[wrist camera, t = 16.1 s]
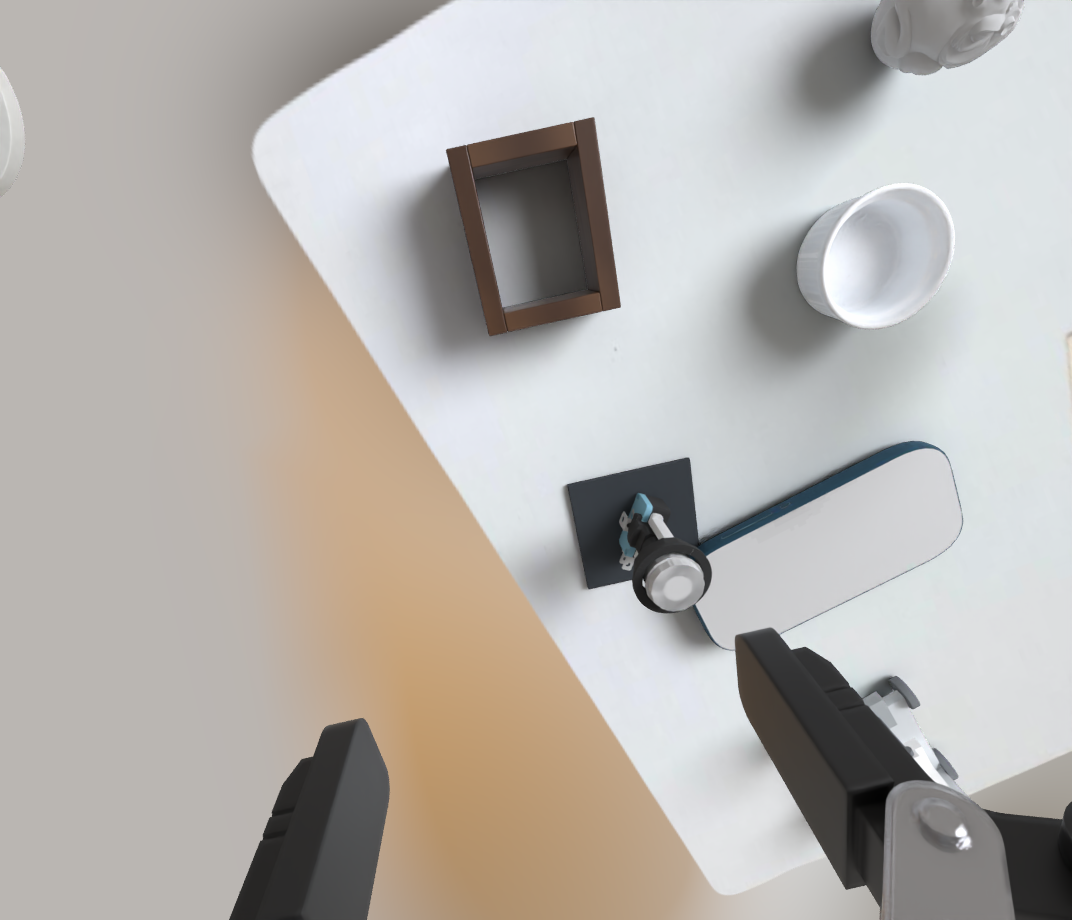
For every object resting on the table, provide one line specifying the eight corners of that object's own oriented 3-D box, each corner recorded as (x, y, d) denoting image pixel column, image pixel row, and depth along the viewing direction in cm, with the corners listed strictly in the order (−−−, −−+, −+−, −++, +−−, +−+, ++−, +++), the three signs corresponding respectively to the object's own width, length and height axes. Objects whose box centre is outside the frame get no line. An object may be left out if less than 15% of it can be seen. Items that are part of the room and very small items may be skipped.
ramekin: (793, 337, 40) (828, 346, 36) (780, 213, 37) (816, 207, 33) (907, 303, 40) (955, 307, 36) (904, 175, 36) (956, 164, 32)
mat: (587, 586, 46) (588, 589, 46) (567, 484, 42) (567, 486, 42) (699, 561, 46) (701, 564, 46) (688, 457, 42) (690, 458, 42)
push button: (649, 566, 45) (691, 645, 36) (591, 553, 44) (618, 630, 35) (678, 498, 43) (731, 562, 34) (618, 482, 42) (655, 544, 33)
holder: (489, 328, 38) (489, 336, 33) (450, 163, 34) (445, 149, 30) (606, 302, 38) (621, 307, 34) (581, 135, 34) (594, 116, 30)
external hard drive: (713, 648, 49) (722, 663, 47) (665, 555, 45) (674, 568, 43) (951, 530, 47) (971, 541, 45) (924, 423, 43) (944, 430, 41)
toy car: (838, 804, 44) (968, 736, 42) (778, 710, 53) (882, 652, 52) (909, 907, 50) (1025, 851, 48) (844, 807, 59) (939, 758, 57)
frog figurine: (915, 108, 35) (1013, 73, 29) (825, 69, 34) (905, 23, 27) (964, 1, 33) (1081, -64, 27) (871, -45, 32) (969, -124, 25)
